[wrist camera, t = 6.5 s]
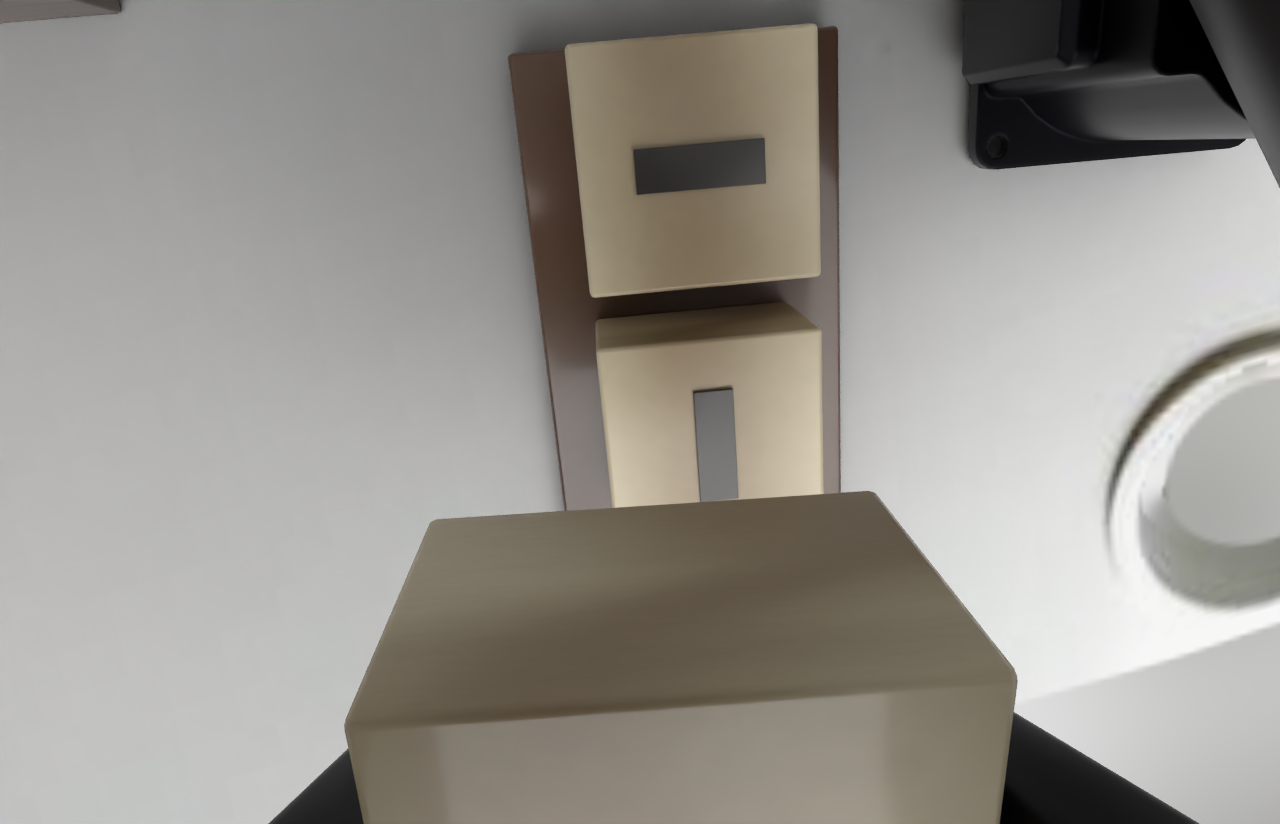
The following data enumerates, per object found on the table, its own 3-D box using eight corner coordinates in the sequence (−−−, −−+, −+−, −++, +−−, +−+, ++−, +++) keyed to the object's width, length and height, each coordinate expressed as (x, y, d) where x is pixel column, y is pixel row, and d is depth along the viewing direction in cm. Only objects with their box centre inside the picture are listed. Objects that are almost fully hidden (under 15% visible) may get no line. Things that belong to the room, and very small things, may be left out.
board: (826, 31, 18) (890, -1, 14) (831, 615, 23) (881, 712, 19) (511, 58, 18) (489, 32, 14) (583, 641, 22) (581, 745, 19)
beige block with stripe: (874, 486, 8) (1032, 684, 5) (857, 831, 10) (972, 1138, 7) (429, 517, 8) (333, 737, 5) (479, 861, 9) (426, 1189, 7)
